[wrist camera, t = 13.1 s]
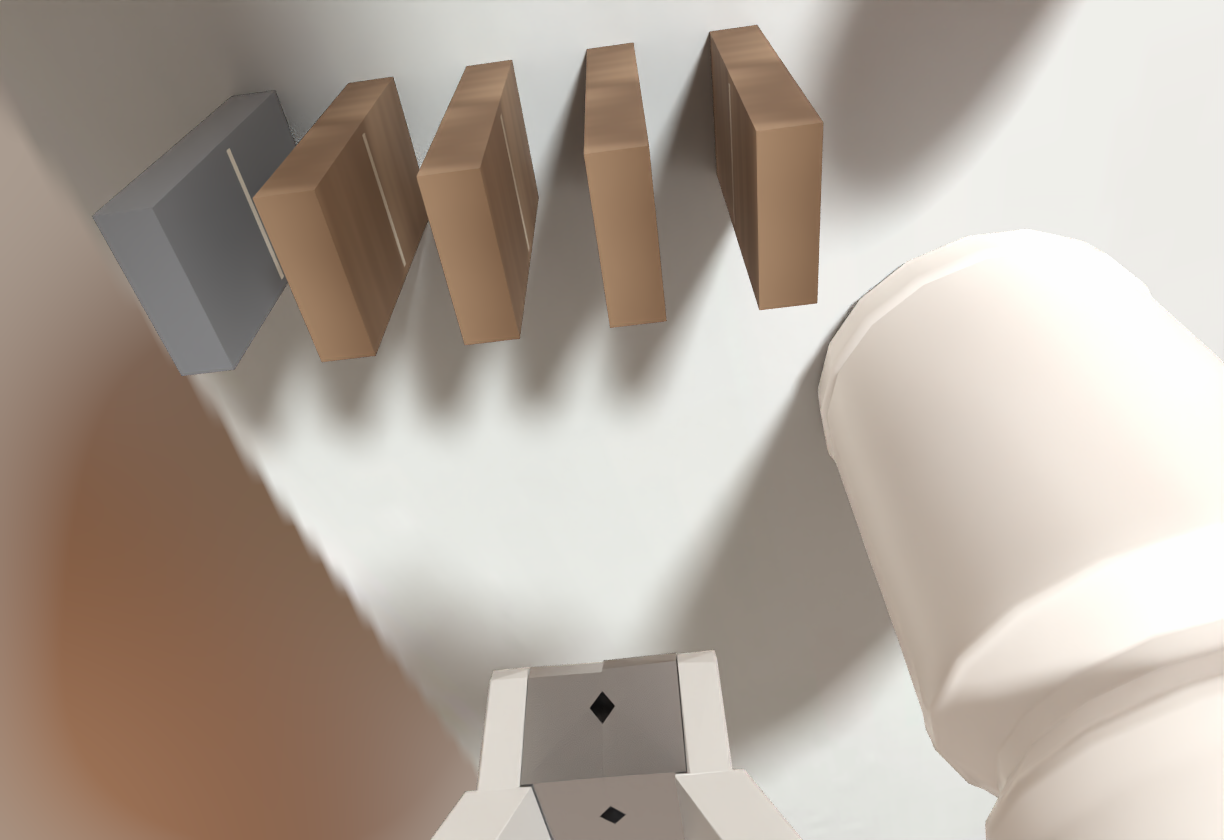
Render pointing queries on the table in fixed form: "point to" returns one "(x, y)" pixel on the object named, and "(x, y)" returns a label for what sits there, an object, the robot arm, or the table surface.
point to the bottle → (1045, 529)
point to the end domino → (205, 234)
